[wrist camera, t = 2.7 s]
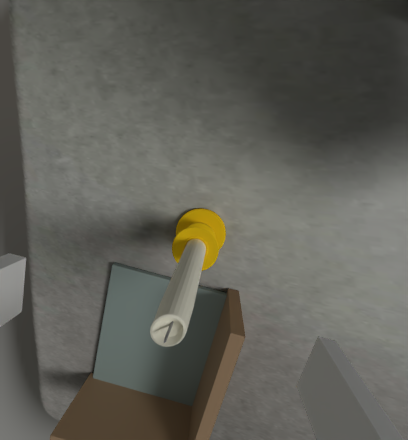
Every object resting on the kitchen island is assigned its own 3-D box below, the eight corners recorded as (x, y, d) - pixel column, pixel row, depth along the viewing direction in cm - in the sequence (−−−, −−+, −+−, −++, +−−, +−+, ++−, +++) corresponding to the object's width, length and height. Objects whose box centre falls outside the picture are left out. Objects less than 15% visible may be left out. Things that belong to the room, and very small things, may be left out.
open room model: (110, 256, 25) (69, 288, 18) (243, 292, 25) (252, 339, 18) (89, 379, 29) (49, 444, 22) (203, 412, 29) (198, 487, 22)
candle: (219, 202, 23) (214, 266, 8) (230, 249, 24) (246, 389, 9) (170, 214, 23) (77, 294, 8) (184, 260, 24) (123, 405, 9)
